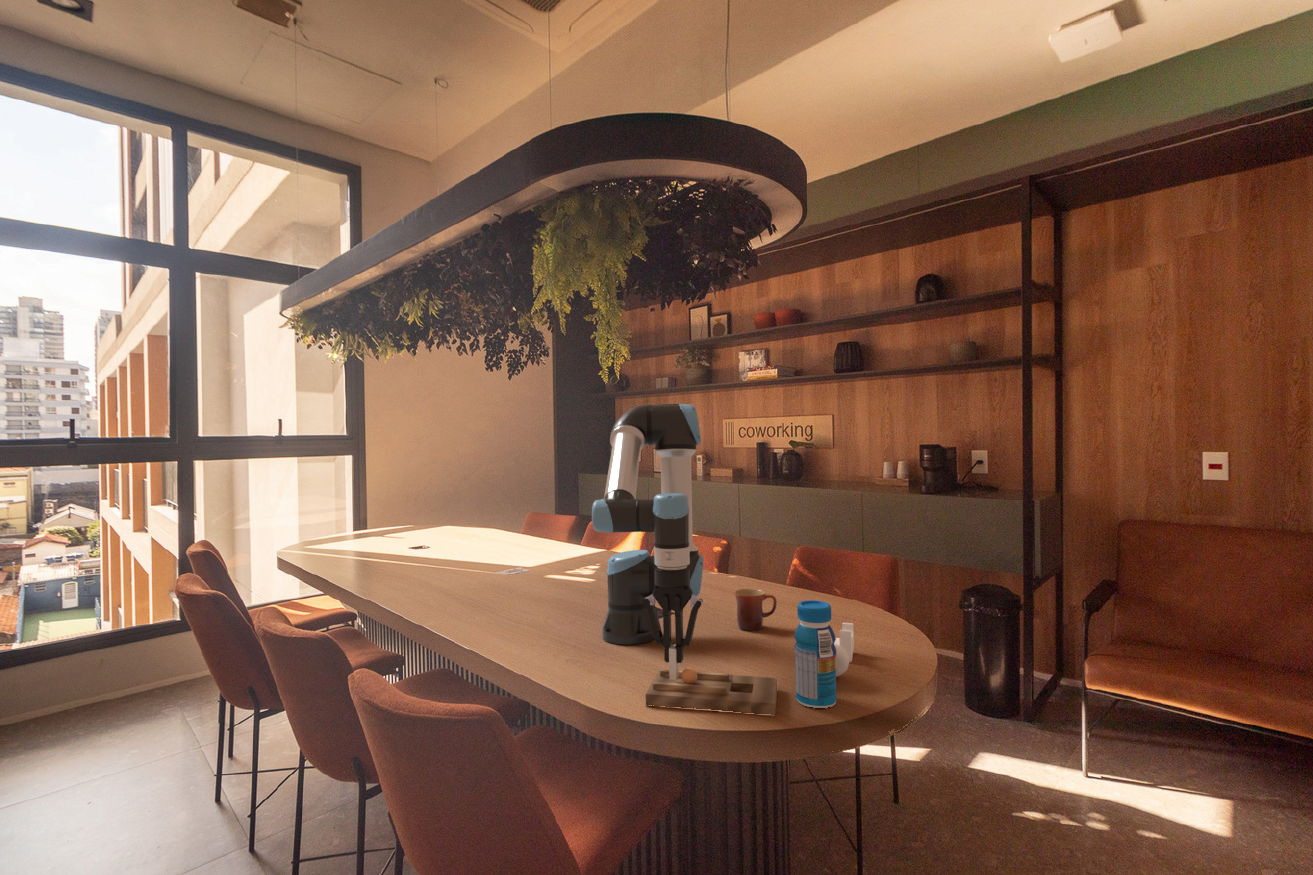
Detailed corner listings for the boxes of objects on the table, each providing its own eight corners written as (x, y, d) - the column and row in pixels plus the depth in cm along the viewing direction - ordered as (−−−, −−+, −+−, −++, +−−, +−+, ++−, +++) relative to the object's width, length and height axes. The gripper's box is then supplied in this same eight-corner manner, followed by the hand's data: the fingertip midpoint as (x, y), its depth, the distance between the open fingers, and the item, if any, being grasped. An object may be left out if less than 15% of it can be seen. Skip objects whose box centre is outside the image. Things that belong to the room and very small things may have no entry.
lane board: (645, 706, 124) (645, 687, 124) (659, 681, 136) (659, 664, 136) (775, 716, 118) (775, 697, 118) (777, 689, 130) (776, 672, 131)
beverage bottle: (792, 706, 122) (790, 607, 122) (798, 690, 130) (796, 597, 130) (835, 712, 119) (833, 611, 119) (839, 695, 127) (837, 600, 127)
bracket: (854, 653, 152) (853, 623, 152) (851, 663, 146) (850, 631, 146) (801, 647, 157) (801, 618, 157) (796, 656, 151) (796, 626, 151)
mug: (735, 632, 170) (734, 596, 170) (734, 623, 178) (733, 588, 178) (778, 633, 169) (777, 596, 169) (775, 623, 177) (774, 588, 177)
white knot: (847, 671, 140) (846, 632, 140) (852, 692, 128) (851, 650, 129) (797, 668, 143) (796, 630, 143) (797, 688, 131) (796, 647, 131)
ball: (680, 686, 127) (679, 670, 127) (683, 680, 130) (682, 664, 130) (696, 687, 126) (695, 671, 126) (698, 681, 129) (698, 665, 129)
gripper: (638, 568, 127) (640, 681, 127) (699, 570, 124) (701, 686, 124) (646, 561, 134) (648, 668, 134) (705, 563, 131) (707, 672, 131)
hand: (674, 677), depth 129 cm, fingers closed
